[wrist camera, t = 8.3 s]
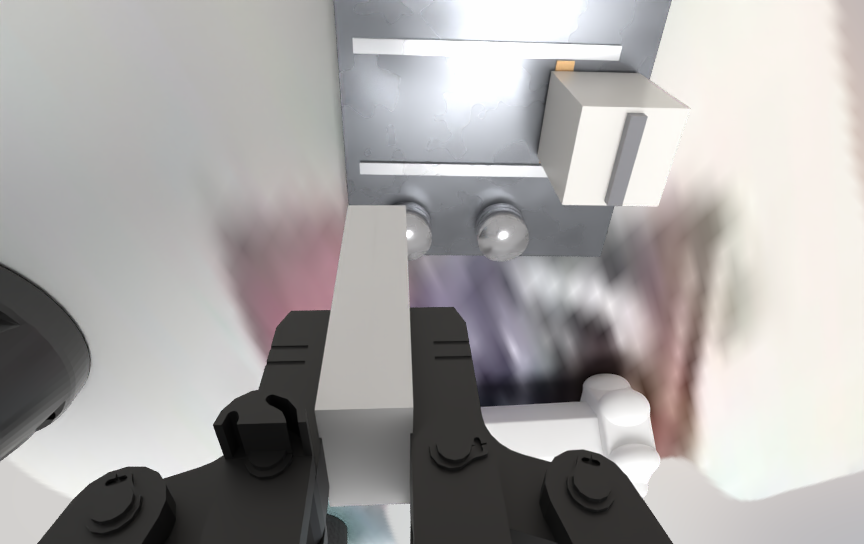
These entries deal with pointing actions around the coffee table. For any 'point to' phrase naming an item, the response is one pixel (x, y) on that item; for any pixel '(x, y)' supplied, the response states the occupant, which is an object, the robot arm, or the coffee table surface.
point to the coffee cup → (336, 530)
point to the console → (476, 114)
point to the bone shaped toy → (584, 427)
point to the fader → (609, 138)
